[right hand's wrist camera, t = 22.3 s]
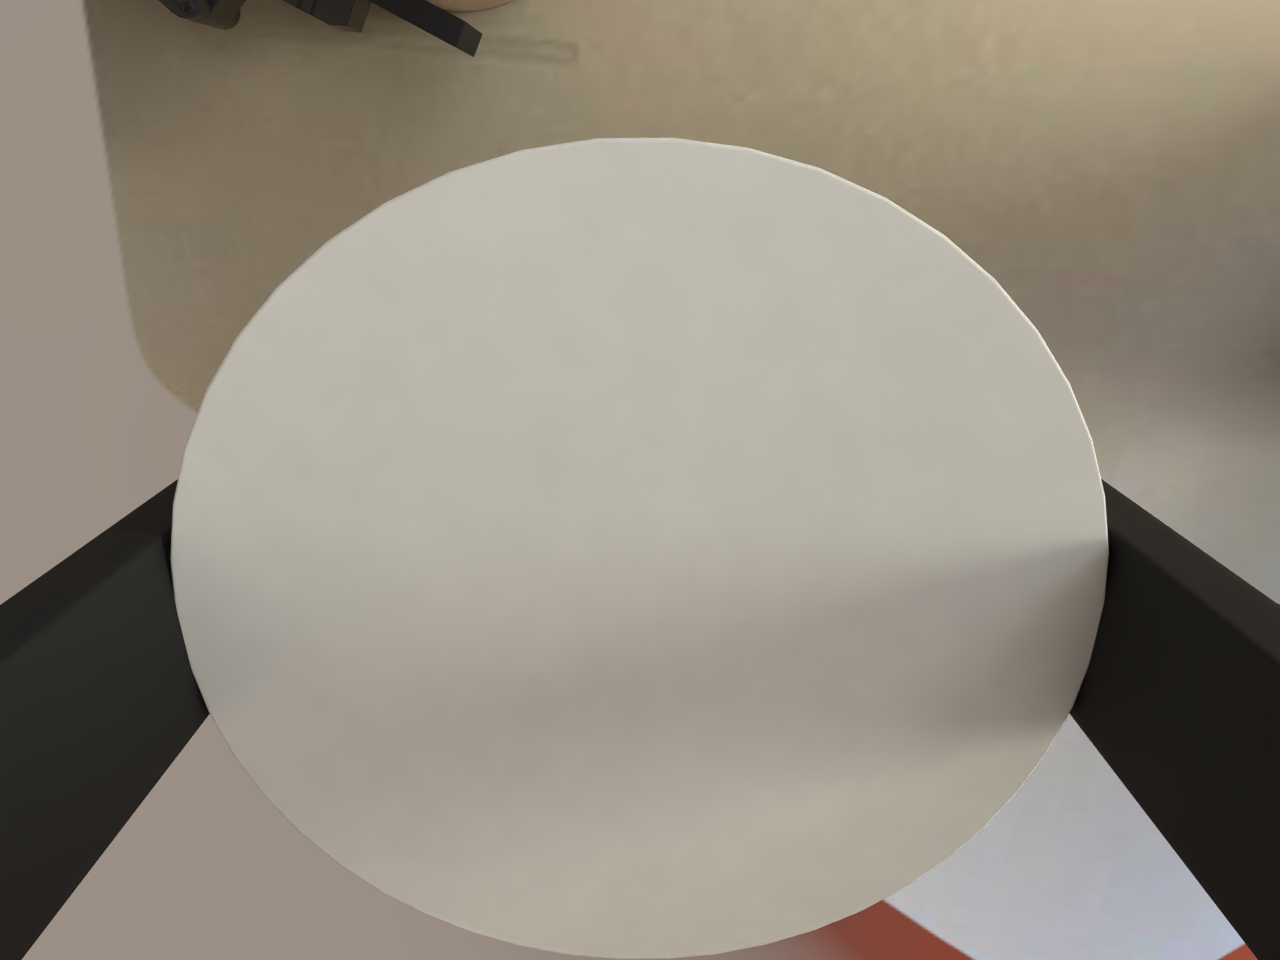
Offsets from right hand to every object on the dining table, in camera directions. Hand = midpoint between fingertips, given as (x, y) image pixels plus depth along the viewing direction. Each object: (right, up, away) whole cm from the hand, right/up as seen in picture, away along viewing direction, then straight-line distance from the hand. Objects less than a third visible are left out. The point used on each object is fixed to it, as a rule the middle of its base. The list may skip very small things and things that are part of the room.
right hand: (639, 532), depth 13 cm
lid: (0, -1, -2) cm, 3 cm away
